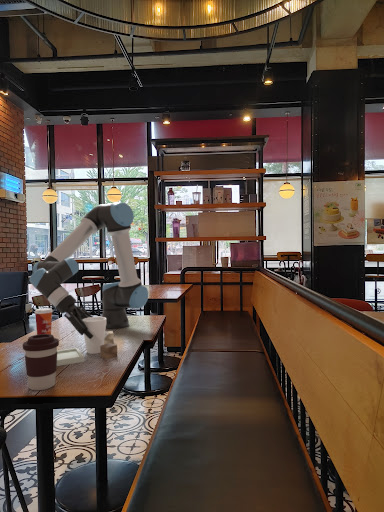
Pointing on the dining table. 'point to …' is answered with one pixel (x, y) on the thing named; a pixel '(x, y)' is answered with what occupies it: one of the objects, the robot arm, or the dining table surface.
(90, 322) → the foam cup
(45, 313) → the paper cup
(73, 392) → the dining table surface
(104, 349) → the walnut block
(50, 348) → the coffee cup
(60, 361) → the tray
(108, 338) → the beech block
